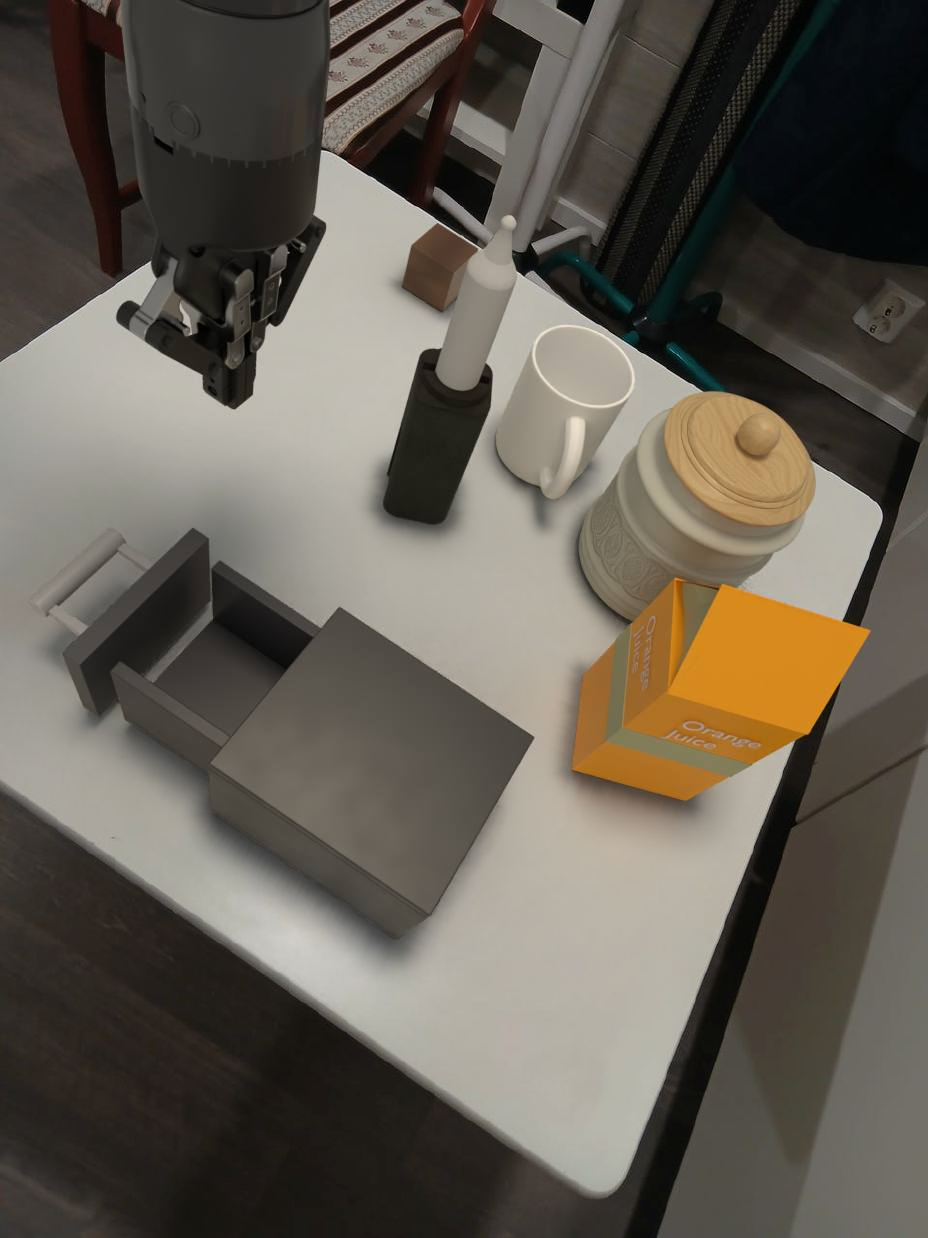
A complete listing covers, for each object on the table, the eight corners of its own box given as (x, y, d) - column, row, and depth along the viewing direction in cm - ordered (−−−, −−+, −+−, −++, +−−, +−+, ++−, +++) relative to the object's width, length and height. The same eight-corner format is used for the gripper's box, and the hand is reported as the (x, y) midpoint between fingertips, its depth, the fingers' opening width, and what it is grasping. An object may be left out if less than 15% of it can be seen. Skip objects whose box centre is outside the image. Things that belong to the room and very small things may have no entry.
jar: (733, 640, 66) (885, 516, 51) (583, 628, 62) (697, 492, 47) (704, 507, 72) (831, 361, 57) (566, 490, 68) (662, 331, 53)
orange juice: (582, 673, 61) (721, 523, 43) (691, 705, 62) (868, 571, 45) (570, 772, 57) (718, 650, 40) (686, 804, 58) (879, 698, 41)
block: (401, 286, 75) (410, 244, 71) (426, 263, 77) (437, 221, 73) (441, 312, 75) (453, 272, 71) (466, 288, 77) (478, 248, 73)
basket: (18, 662, 50) (-14, 601, 43) (137, 550, 55) (125, 481, 48) (251, 823, 49) (255, 786, 42) (349, 694, 54) (367, 643, 48)
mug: (585, 536, 67) (640, 457, 58) (488, 516, 65) (529, 433, 56) (583, 425, 73) (633, 338, 64) (494, 405, 71) (532, 313, 62)
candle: (445, 527, 64) (555, 260, 42) (381, 514, 63) (461, 234, 41) (450, 475, 66) (556, 199, 45) (388, 462, 65) (467, 173, 44)
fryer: (211, 811, 49) (207, 763, 41) (322, 672, 55) (339, 605, 47) (396, 939, 49) (430, 916, 40) (489, 784, 55) (535, 736, 46)
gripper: (261, -6, 36) (252, 304, 51) (21, 100, 29) (91, 423, 44) (400, 83, 35) (349, 371, 50) (188, 213, 28) (202, 501, 43)
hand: (229, 395), depth 47 cm, fingers closed
